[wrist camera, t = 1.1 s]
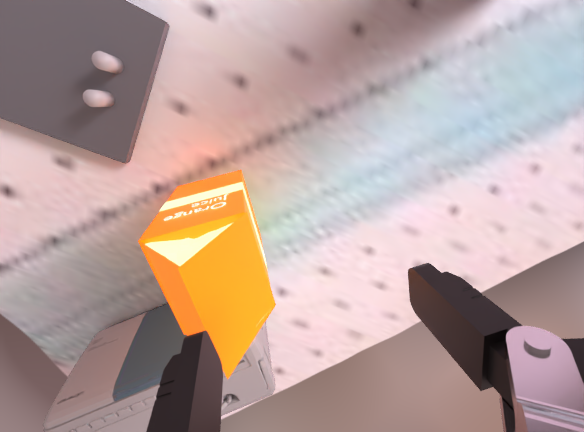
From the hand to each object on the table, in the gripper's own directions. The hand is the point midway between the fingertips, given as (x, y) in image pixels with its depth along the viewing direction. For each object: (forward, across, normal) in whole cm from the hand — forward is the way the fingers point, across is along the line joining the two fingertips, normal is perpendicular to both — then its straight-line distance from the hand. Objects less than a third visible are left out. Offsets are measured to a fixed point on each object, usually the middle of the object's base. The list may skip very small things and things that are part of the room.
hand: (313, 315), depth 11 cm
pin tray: (+25, +16, -16) cm, 34 cm away
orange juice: (+25, +6, +3) cm, 26 cm away
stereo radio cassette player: (+25, +15, +17) cm, 34 cm away
